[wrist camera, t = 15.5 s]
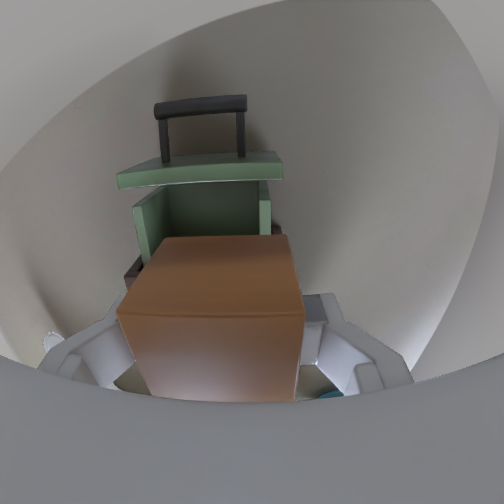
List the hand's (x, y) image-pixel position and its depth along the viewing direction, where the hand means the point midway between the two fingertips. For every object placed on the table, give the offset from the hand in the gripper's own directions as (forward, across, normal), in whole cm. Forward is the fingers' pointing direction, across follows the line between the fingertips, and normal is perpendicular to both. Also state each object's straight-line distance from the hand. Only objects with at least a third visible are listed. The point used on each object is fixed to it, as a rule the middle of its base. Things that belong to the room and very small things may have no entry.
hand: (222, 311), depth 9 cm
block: (+2, 0, 0) cm, 2 cm away
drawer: (+18, +3, +1) cm, 18 cm away
